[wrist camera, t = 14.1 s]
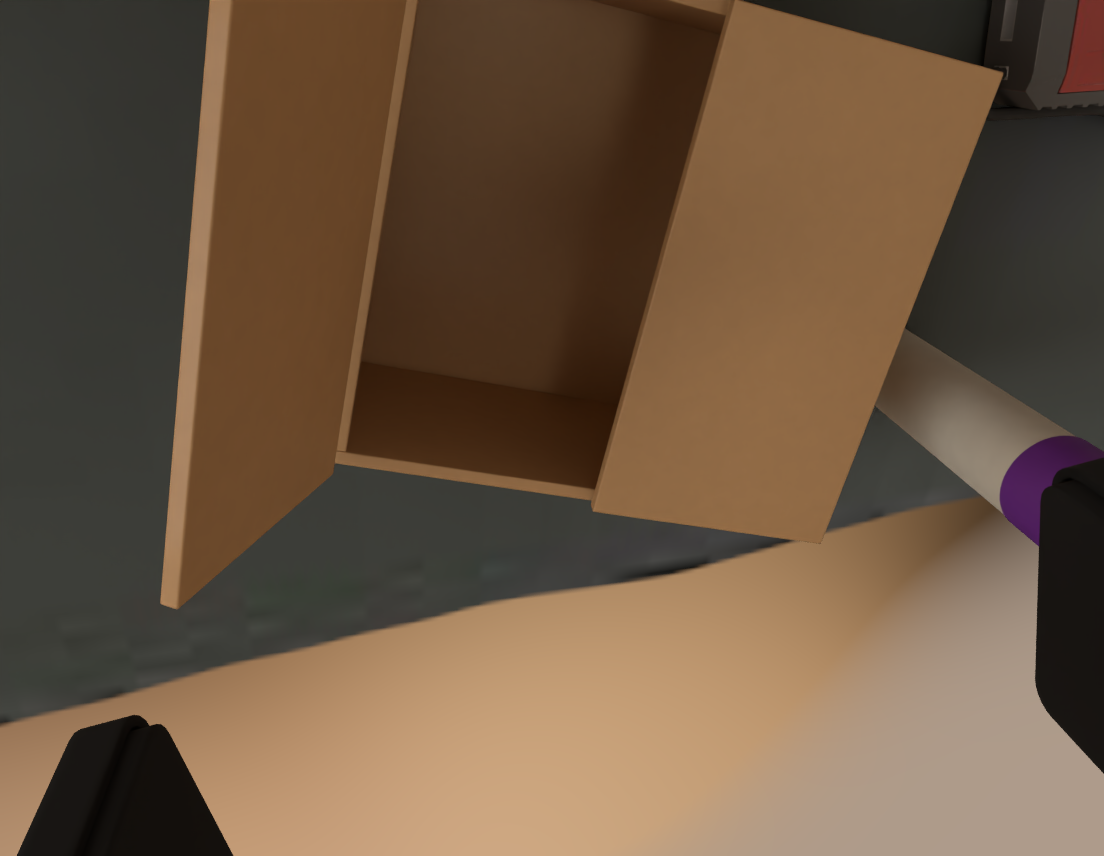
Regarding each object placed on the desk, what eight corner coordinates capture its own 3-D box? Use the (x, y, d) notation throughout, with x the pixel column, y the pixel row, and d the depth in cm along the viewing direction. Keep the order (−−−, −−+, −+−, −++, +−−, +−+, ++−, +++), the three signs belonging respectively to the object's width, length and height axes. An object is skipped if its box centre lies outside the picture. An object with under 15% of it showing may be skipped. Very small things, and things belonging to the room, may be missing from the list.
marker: (831, 387, 36) (1059, 591, 23) (858, 314, 34) (1114, 485, 22) (899, 400, 36) (1159, 606, 24) (928, 329, 35) (1217, 503, 22)
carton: (348, 365, 33) (326, 476, 25) (415, -61, 28) (413, -93, 20) (733, 430, 36) (822, 546, 28) (856, 57, 31) (1008, 71, 23)
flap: (333, 474, 25) (319, 470, 25) (421, -88, 20) (403, -92, 20) (177, 610, 18) (158, 604, 18) (248, -186, 13) (224, -192, 13)
